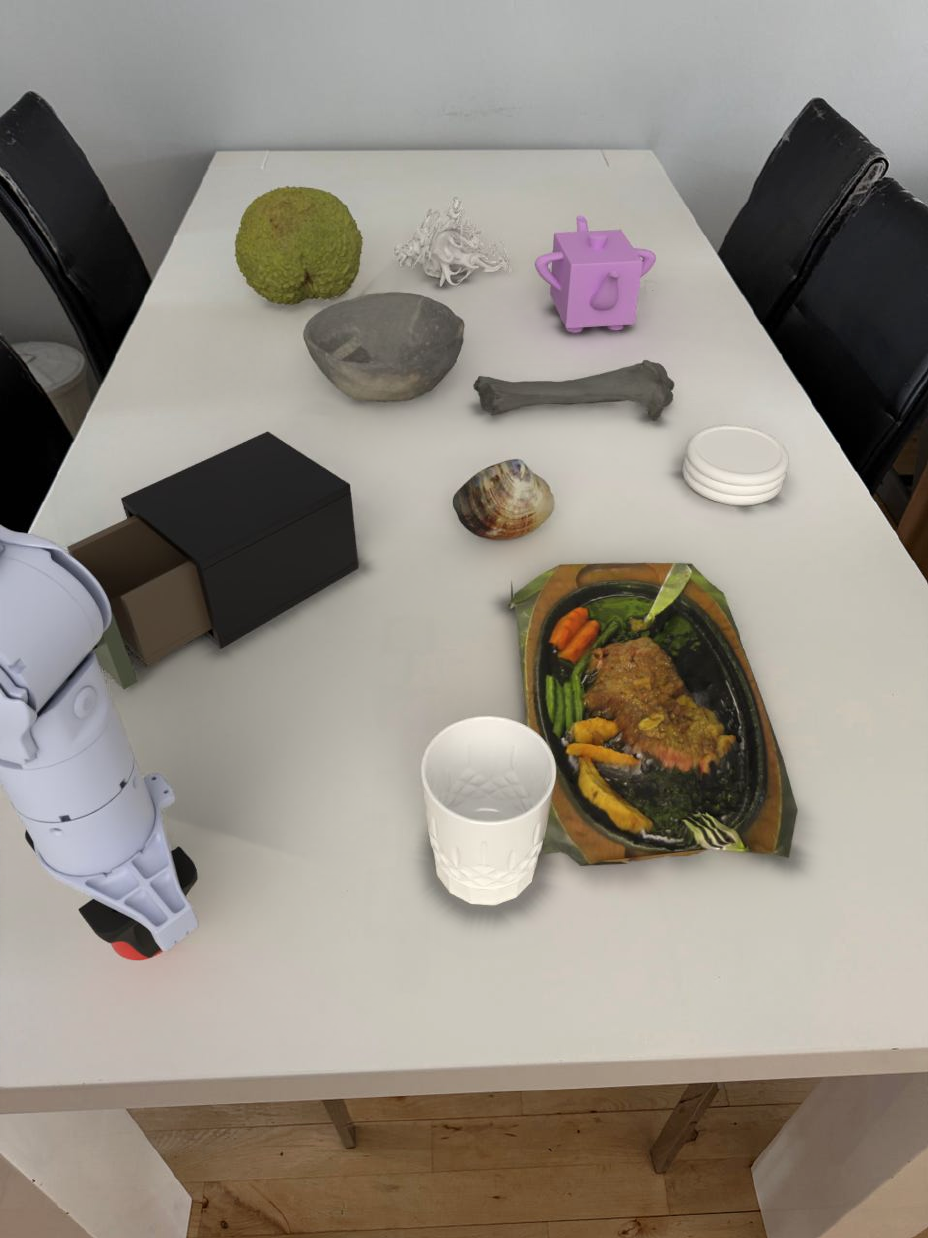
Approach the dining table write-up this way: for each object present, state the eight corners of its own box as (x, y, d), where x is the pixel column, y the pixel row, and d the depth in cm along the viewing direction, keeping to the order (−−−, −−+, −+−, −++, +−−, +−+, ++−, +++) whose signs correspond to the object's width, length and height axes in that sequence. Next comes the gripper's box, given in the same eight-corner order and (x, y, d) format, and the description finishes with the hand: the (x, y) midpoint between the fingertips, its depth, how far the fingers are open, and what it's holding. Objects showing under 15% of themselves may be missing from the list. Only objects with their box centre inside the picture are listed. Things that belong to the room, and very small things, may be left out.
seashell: (543, 510, 88) (549, 439, 83) (560, 547, 84) (567, 474, 78) (447, 523, 87) (446, 451, 81) (459, 560, 82) (459, 487, 77)
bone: (665, 397, 104) (673, 347, 100) (676, 427, 99) (685, 376, 95) (472, 398, 104) (473, 348, 100) (474, 428, 99) (474, 377, 95)
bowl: (365, 338, 114) (360, 275, 109) (490, 371, 108) (492, 306, 103) (279, 403, 103) (268, 336, 97) (413, 443, 97) (410, 374, 91)
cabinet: (221, 649, 74) (199, 563, 68) (146, 582, 80) (120, 497, 74) (358, 568, 82) (350, 484, 75) (281, 512, 88) (267, 430, 81)
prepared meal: (830, 827, 57) (547, 837, 57) (815, 859, 60) (543, 869, 59) (714, 558, 79) (506, 562, 78) (706, 589, 81) (504, 594, 80)
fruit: (289, 335, 115) (221, 220, 108) (267, 331, 127) (204, 227, 120) (395, 269, 117) (334, 152, 110) (363, 271, 130) (307, 166, 123)
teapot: (668, 318, 119) (681, 233, 111) (608, 354, 111) (618, 266, 104) (573, 286, 126) (580, 204, 119) (512, 318, 119) (515, 233, 111)
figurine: (389, 240, 130) (430, 167, 124) (477, 292, 136) (521, 225, 130) (390, 277, 121) (435, 199, 115) (485, 331, 127) (532, 260, 121)
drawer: (75, 718, 68) (44, 648, 63) (12, 647, 73) (-21, 578, 68) (268, 606, 77) (255, 538, 72) (200, 551, 82) (183, 483, 77)
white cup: (490, 939, 56) (494, 849, 49) (400, 863, 60) (392, 769, 53) (569, 857, 60) (583, 763, 53) (481, 790, 64) (483, 695, 57)
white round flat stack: (778, 516, 87) (787, 486, 85) (674, 496, 90) (680, 466, 87) (785, 461, 94) (794, 431, 92) (689, 444, 97) (694, 415, 94)
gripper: (230, 814, 42) (271, 955, 51) (76, 652, 49) (137, 801, 58) (87, 914, 38) (160, 1047, 47) (-56, 723, 45) (32, 870, 55)
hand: (140, 916), depth 53 cm, fingers closed on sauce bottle, 4 cm apart
